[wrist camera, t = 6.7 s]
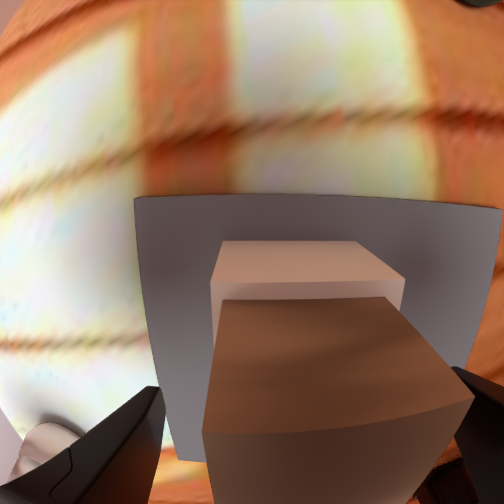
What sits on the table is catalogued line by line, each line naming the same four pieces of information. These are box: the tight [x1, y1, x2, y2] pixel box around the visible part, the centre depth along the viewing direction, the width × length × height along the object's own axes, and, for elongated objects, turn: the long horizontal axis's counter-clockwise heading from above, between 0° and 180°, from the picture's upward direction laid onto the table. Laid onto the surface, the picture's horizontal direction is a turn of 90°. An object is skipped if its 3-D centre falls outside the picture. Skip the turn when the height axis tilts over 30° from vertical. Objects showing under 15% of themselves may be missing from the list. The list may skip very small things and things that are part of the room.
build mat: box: [134, 194, 503, 462], centre depth 16 cm, size 20×18×1 cm
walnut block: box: [202, 296, 475, 504], centre depth 7 cm, size 5×5×5 cm
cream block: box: [210, 241, 405, 348], centre depth 12 cm, size 6×6×5 cm
